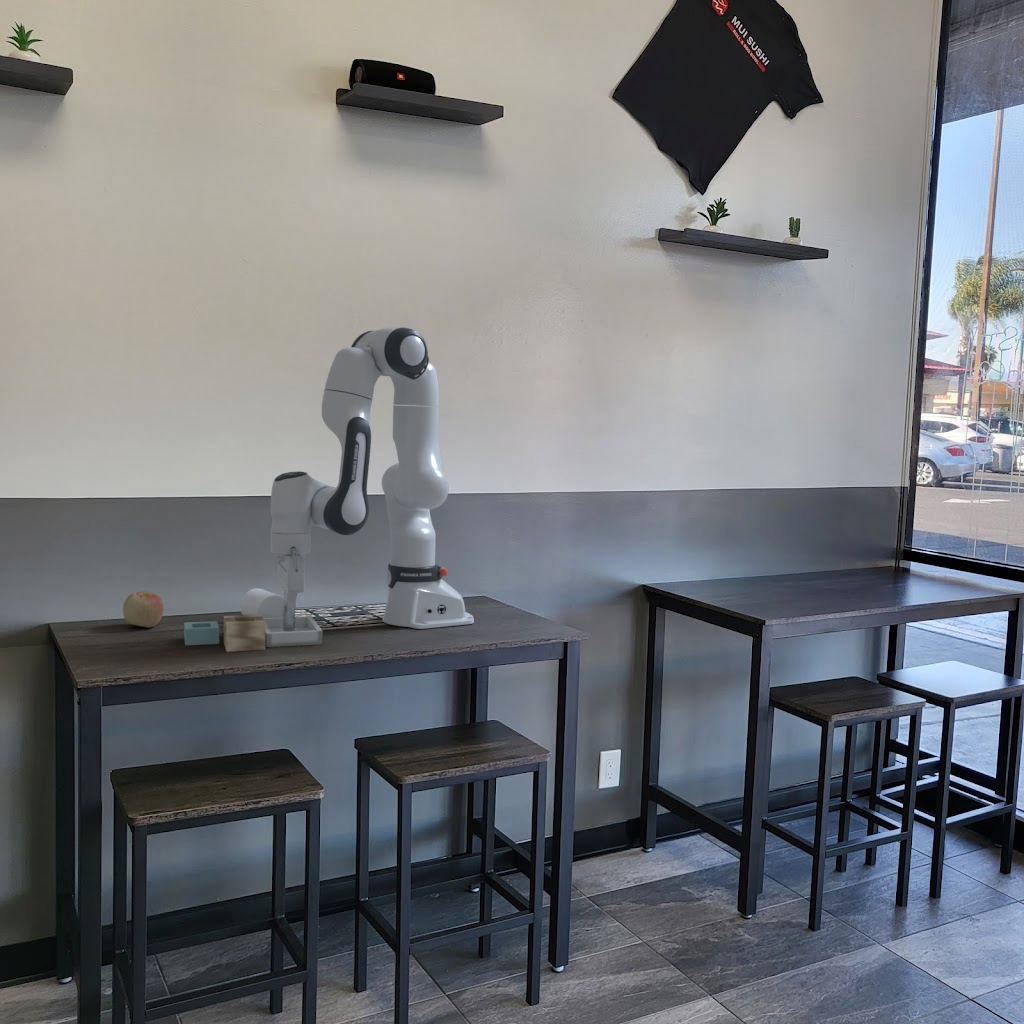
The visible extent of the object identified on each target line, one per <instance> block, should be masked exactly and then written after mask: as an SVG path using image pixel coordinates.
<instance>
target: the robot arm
mask: <svg viewBox="0 0 1024 1024" xmlns="http://www.w3.org/2000/svg"><path fill="white" fill-rule="evenodd" d="M437 373H438V372H437V370H436V368H435V366H434V365H433V364H432V363H430V358H429V351H428V347H427V343H426V340H425V338H424V337H423V335H421V333H420V332H418V331H417V330H414V329H413V328H409V327H383V328H380V329H376V330H369V331H364V332H363V333H361V334H360V335H358V337H356V338H355V340H354V341H353V343H352V344H351V346H350V347H344V348H341V349H340V350H339V351H338V352H336V354H335V356H334V359H333V360H332V364H331V366H330V368H329V371H328V375H327V377H326V381H325V385H324V391H323V395H322V402H321V418H322V421H323V422H324V424H325V425H326V427H327V428H328V429H329V430H330V431H331V432H332V433H333V434H334V435H335V437H337V439H338V441H339V444H340V447H341V455H340V456H341V457H340V467H339V475H338V484H337V486H336V487H335V486H329V485H328V484H325V483H322V482H321V481H318V480H316V479H315V478H313V477H312V476H311V475H309V474H308V473H307V472H305V471H290V472H289V471H288V472H284V473H281V474H279V475H278V476H276V477H275V478H274V479H273V483H272V486H271V492H270V493H271V495H270V515H271V518H272V520H271V522H272V523H271V526H270V532H269V533H270V536H269V537H270V541H269V542H270V543H269V545H270V549H269V550H270V551H269V552H270V553H271V554H274V561H275V571H276V572H275V573H276V577H277V579H278V581H280V583H281V584H282V585H283V589H284V587H285V588H286V590H287V606H288V607H289V608H295V607H296V603H297V602H296V601H297V597H298V593H304V592H305V587H306V584H305V583H306V581H305V580H306V577H305V574H306V572H305V569H306V568H305V560H306V554H309V553H311V550H312V549H311V548H312V545H311V544H312V537H311V536H312V532H311V531H312V528H313V527H314V526H315V527H318V528H321V529H324V530H327V531H328V530H329V531H332V532H334V533H336V534H339V535H342V536H351V535H354V534H355V533H357V532H359V531H360V530H361V529H362V528H363V527H364V526H365V525H366V523H367V521H368V517H369V512H370V507H369V499H368V478H369V469H370V468H369V466H370V457H371V448H372V447H371V445H372V432H371V425H370V424H371V423H370V422H371V420H370V419H371V408H372V403H373V397H374V392H375V391H374V390H375V386H376V384H377V381H378V379H379V378H380V377H381V376H382V377H383V376H385V377H390V379H391V381H392V384H393V390H394V391H393V403H392V404H393V408H392V410H393V411H392V440H393V442H394V445H395V449H396V455H397V461H398V462H397V463H395V464H393V465H390V466H389V467H388V468H387V469H386V470H385V471H384V473H383V475H382V477H381V488H382V491H383V493H384V499H385V504H386V511H387V512H386V513H387V517H388V524H389V537H390V539H389V541H390V542H389V544H390V545H389V563H388V565H387V566H388V567H387V575H386V578H387V580H386V581H387V583H386V584H387V586H388V591H387V598H386V605H385V608H384V613H383V616H382V619H381V621H382V622H383V623H385V624H388V625H392V626H397V627H406V628H407V627H408V628H412V629H416V630H417V629H420V630H422V629H432V628H433V629H434V628H443V627H453V626H463V625H471V624H474V622H475V619H474V616H473V615H472V614H471V613H469V612H467V611H466V606H465V601H464V599H463V596H462V595H461V593H459V592H458V591H457V590H456V589H455V588H453V587H452V586H451V585H450V584H449V583H447V582H446V581H445V580H443V577H447V576H448V575H449V570H448V569H447V568H446V567H444V566H442V567H441V566H439V565H438V564H436V536H437V535H436V530H435V528H434V525H433V521H432V517H431V512H430V511H431V510H434V509H437V508H438V507H440V506H442V504H443V503H445V501H446V500H447V498H448V495H449V481H448V479H447V478H446V475H445V473H444V467H443V462H442V455H441V449H440V442H439V441H440V440H439V439H440V438H439V435H440V434H439V428H440V427H439V422H440V420H439V418H440V389H439V381H438V375H437Z"/></svg>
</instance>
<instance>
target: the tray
mask: <svg viewBox="0 0 1024 1024" xmlns="http://www.w3.org/2000/svg"><path fill="white" fill-rule="evenodd" d="M263 619H264V620H265V648H276V647H280V648H281V647H282V648H283V647H299V646H301V645H302V646H313V645H314V646H317V645H320V646H321V645H323V630H322V628H321V627H320V626H319V624H318V623H317V622H316V620H315V619H314V618H313V616H311V615H310V616H309V615H303V616H295V631H291V632H286V631H283V617H279V618H263Z"/></svg>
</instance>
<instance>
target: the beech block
mask: <svg viewBox="0 0 1024 1024" xmlns="http://www.w3.org/2000/svg"><path fill="white" fill-rule="evenodd" d="M223 645H224V648H225V651H226V652H227V653H228V652H229V653H231V652H244V651H245V652H247V651H265V650H266V645H265V620H264V619H263V617H262V615H243V614H242V615H241V614H240V615H223Z"/></svg>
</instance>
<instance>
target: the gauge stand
mask: <svg viewBox="0 0 1024 1024" xmlns="http://www.w3.org/2000/svg"><path fill="white" fill-rule="evenodd" d="M183 634H184V635H183V639H184V644H185V645H184V646H199V645H201V646H202V645H219V644H220V626H219V623H218V621H215V620H214V621H191V622H190V621H189V622H184V623H183Z"/></svg>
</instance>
